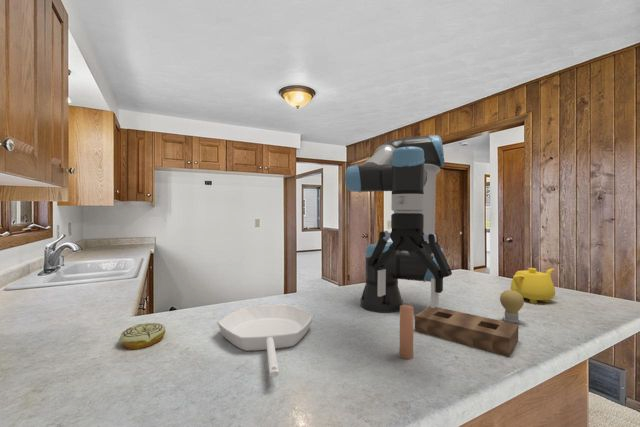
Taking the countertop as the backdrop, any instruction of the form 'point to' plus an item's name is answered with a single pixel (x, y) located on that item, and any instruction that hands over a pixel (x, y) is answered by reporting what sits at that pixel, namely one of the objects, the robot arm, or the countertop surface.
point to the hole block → (468, 329)
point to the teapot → (534, 285)
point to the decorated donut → (142, 335)
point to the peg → (406, 331)
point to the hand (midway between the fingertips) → (406, 300)
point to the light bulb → (511, 305)
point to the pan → (266, 329)
